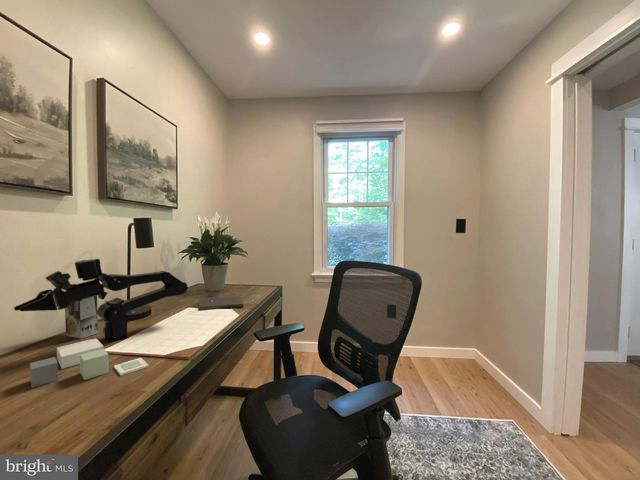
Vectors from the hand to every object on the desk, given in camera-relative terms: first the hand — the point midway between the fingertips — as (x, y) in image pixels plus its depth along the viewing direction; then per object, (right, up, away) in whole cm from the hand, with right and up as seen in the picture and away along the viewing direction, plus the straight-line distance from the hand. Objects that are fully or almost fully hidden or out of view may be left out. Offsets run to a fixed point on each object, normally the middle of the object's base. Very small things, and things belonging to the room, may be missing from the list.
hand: (17, 309), depth 84 cm
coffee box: (-2, -16, +25) cm, 30 cm away
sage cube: (+26, -18, -4) cm, 32 cm away
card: (+35, -17, 0) cm, 39 cm away
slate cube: (+16, -18, -8) cm, 25 cm away
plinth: (+14, -17, +6) cm, 23 cm away
